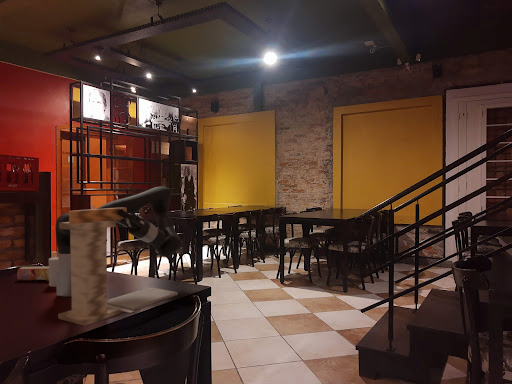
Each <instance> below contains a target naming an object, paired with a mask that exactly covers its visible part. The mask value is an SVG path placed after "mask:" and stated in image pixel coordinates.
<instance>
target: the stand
mask: <svg viewBox="0 0 512 384" xmlns="http://www.w3.org/2000/svg"><path fill="white" fill-rule="evenodd" d="M115 227H117V224H116V221H110V220H107V221H97V222H86V223H69V222H63V223H59V229H69V230H70V247H71V294H72V296H71V309H70V310H67V311H63V312H61V313H58V314H57V315H58V317H57V319H59V320H62V321H65V322H69V323H73V324H75V325H79V326H83V327H85V326H88V325H91V324H94V323H97V322H99V321H102V320H105V319H108V318H112V317H113V316H117V315H120V314H121V313H122V311H121V309H119V307H118V308H114V307H110V306H107V300H108V274H107V273H108V271H107V268H108V267H107V263H108V262H107V228H115Z"/></svg>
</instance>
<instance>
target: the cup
mask: <svg viewBox="0 0 512 384" xmlns="http://www.w3.org/2000/svg"><path fill="white" fill-rule="evenodd" d="M48 266H49V281H48V285H49V286H48V287H54V288H55V287H56V288H57V285H56V272H58V256H54V257H50V258H48Z"/></svg>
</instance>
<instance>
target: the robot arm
mask: <svg viewBox="0 0 512 384" xmlns="http://www.w3.org/2000/svg"><path fill="white" fill-rule="evenodd" d="M171 196H172V192H171V189H170V188H169V187H167V186H161V185H160V186H155V187H153V188H150V189H147V190H145V191H143V192H140V193H136V194H133V195H131V196H127V197H124V198H123V197H122V198H119V199H116V200H112V201H109V202H106V203H105V204H102V205H101V206H99V207H97V208H96V209H106V208H127V212H125V211H124V210H122V209H118V212H117V214H118V215H119V216H121V217H123V218H126V219H118V220H110V221H116V225H118V226H123V227H124V228H127V232H128V234H130V235H131V236H133V237H135V238H136V239H138V240H140V241H142V242H144V243H147V244H148V245H151V246H152V247H153V248H154V249H155V250H156V252H157V253H158V254H159V255H160V256H161V257H163V258H169V257H170V256H172V255H173V254H174V253H176V252H177V251H179V250H180V249H181V248H182V246H183V241H182V239H181V237H180V236H179V235H178V233H177V231H176V229H175V225H174V221H173V219H172V217H171V216H170V213H169V208H170V204H171V199H172V197H171ZM148 204H150V207H151V209H152V211H153V213H154V215H155V219H156V225H157V226H155V225H154V223H152V222H150V221H148V220H147V219H145V218H143V217H142V216H140V215H139V216H138V215H137V213H138V212H139V211H140V210H141V209H142V208H144V207H145V206H146V205H148ZM63 222H69V212H66V213H62V214H60V215H59V216H58V218H57V219H56V222H55V239H56V240H55V243H56V248H57V257H58V272H56V285H57V287H56V296H58V297H72V294H71V247H70V230H69V229H59V223H63Z"/></svg>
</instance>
